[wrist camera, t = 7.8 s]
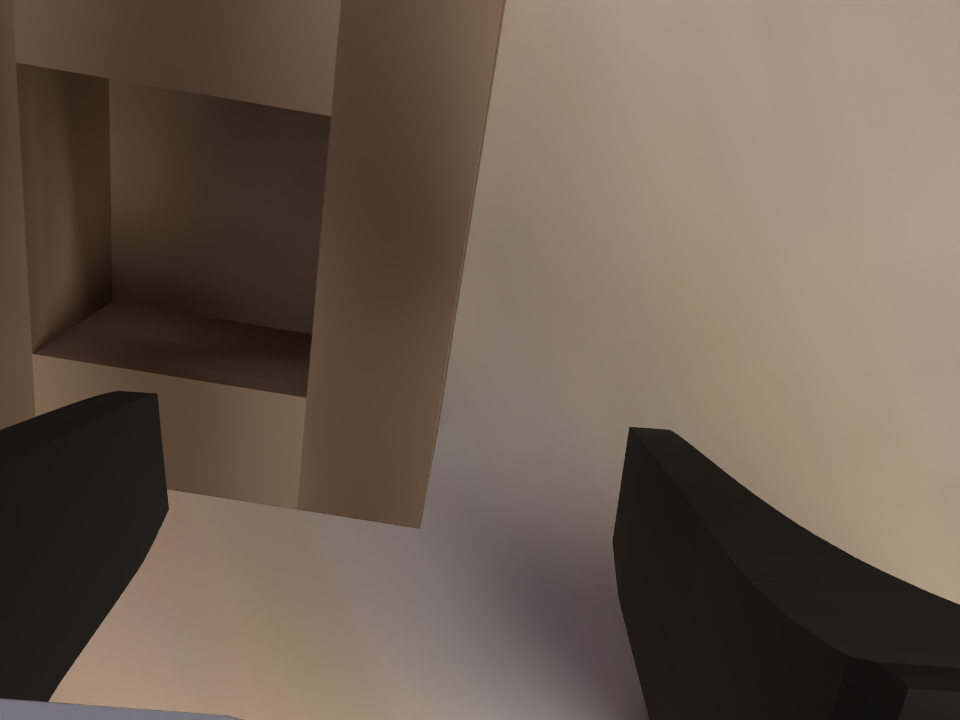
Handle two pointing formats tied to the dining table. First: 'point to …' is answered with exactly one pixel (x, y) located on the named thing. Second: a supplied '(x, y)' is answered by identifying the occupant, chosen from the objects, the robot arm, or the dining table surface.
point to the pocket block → (245, 230)
